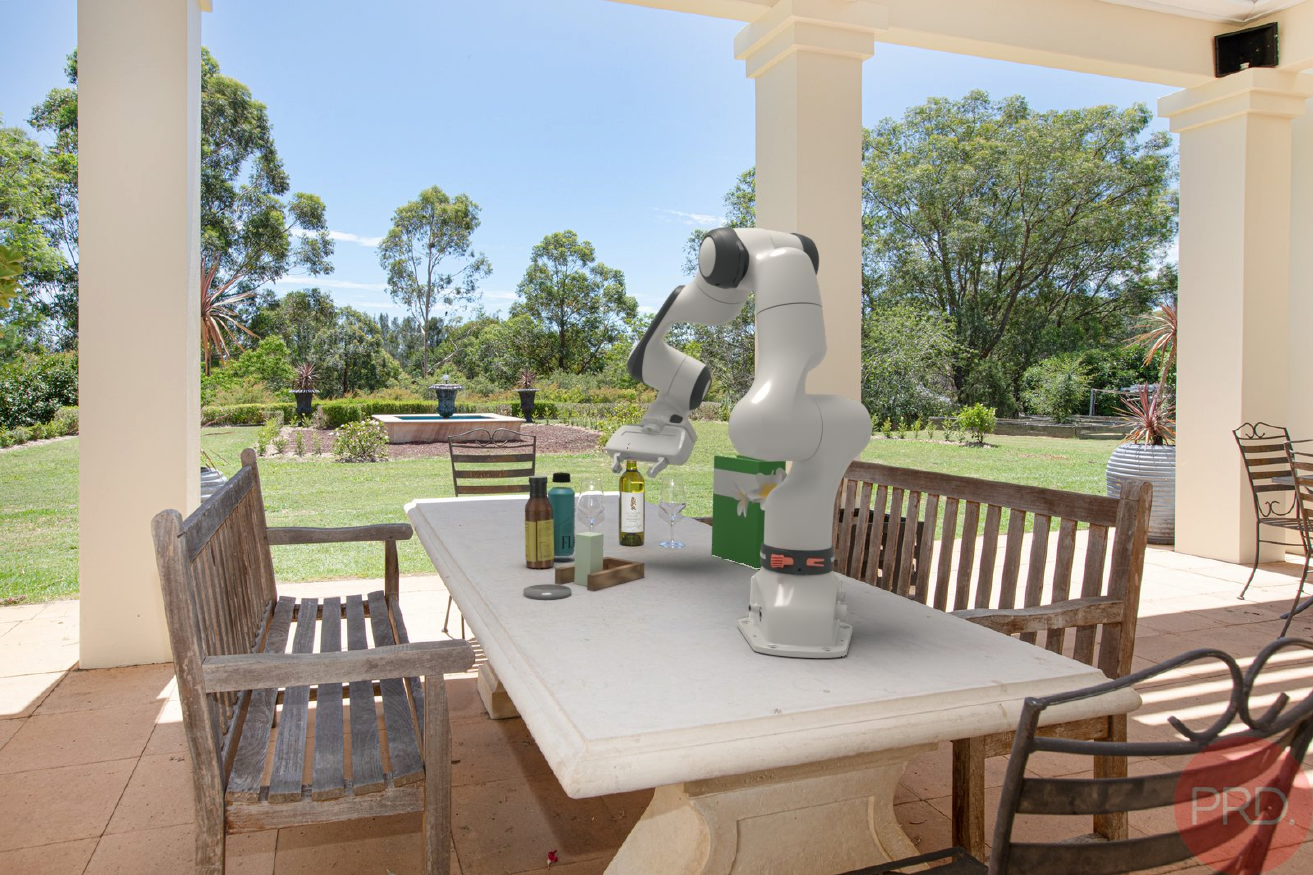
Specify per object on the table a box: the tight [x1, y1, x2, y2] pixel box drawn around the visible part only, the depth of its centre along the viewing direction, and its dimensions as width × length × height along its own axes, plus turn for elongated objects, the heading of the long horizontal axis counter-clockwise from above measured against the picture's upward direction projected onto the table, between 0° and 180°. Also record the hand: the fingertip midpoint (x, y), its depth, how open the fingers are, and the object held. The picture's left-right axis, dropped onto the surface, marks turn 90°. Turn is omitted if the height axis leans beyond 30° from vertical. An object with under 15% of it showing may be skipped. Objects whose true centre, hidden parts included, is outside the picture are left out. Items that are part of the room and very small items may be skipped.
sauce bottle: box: [524, 475, 555, 570], centre depth 185 cm, size 6×6×20 cm
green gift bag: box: [711, 454, 787, 568], centre depth 197 cm, size 18×7×24 cm, turn 30°
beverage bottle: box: [547, 471, 576, 557], centre depth 193 cm, size 6×7×20 cm
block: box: [573, 531, 604, 587], centre depth 171 cm, size 4×4×10 cm
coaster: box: [522, 583, 572, 601], centre depth 161 cm, size 9×9×1 cm
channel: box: [554, 556, 645, 592], centre depth 174 cm, size 16×10×3 cm, turn 144°
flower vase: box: [731, 468, 788, 518], centre depth 159 cm, size 13×18×25 cm
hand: (632, 473), depth 180 cm, fingers open, 8 cm apart
